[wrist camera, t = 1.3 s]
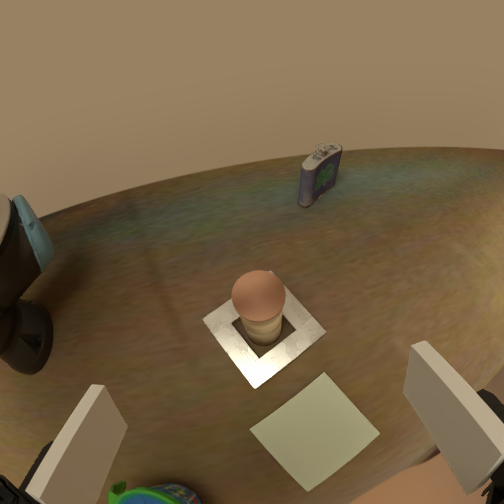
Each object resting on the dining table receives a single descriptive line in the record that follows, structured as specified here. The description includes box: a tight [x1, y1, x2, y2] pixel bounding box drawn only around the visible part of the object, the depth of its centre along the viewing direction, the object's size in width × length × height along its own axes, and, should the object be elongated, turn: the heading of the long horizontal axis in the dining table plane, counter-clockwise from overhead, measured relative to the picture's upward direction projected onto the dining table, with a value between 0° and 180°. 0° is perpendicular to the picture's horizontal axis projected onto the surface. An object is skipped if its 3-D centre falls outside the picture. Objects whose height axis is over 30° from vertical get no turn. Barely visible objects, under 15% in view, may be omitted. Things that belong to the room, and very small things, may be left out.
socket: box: [203, 270, 326, 389], centre depth 39 cm, size 13×13×2 cm
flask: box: [298, 142, 342, 208], centre depth 47 cm, size 10×3×12 cm, turn 132°
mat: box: [250, 372, 380, 492], centre depth 31 cm, size 13×13×1 cm
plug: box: [232, 270, 286, 346], centre depth 34 cm, size 5×5×14 cm
